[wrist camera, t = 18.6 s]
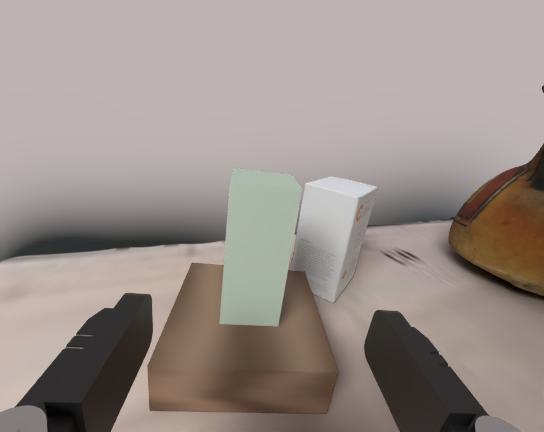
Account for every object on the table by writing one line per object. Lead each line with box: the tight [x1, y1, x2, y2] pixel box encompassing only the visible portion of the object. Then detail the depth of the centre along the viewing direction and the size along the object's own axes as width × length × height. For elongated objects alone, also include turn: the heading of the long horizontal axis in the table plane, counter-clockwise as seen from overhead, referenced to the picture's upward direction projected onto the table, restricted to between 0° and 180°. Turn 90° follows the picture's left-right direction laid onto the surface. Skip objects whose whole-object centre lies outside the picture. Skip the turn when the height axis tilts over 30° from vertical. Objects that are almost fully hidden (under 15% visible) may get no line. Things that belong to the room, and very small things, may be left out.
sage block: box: [219, 168, 302, 326], centre depth 20 cm, size 4×4×11 cm
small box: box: [291, 176, 377, 303], centre depth 32 cm, size 8×6×13 cm
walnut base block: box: [148, 263, 339, 414], centre depth 23 cm, size 12×12×4 cm
